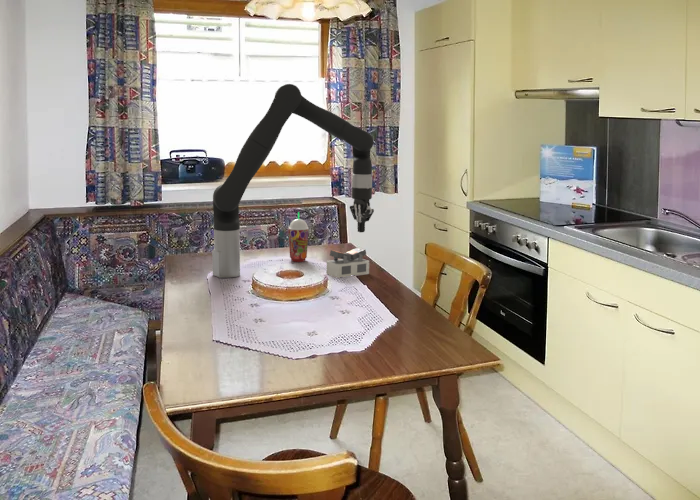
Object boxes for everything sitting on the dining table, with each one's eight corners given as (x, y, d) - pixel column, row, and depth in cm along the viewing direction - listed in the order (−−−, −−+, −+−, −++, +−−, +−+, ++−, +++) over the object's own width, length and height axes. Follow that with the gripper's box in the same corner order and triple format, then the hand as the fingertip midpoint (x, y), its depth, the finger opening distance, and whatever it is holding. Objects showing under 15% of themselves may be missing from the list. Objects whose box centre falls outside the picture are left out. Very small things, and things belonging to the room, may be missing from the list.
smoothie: (299, 263, 274) (299, 214, 270) (283, 260, 279) (283, 212, 275) (312, 260, 280) (313, 212, 277) (297, 257, 285) (297, 210, 281)
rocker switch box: (338, 278, 250) (338, 257, 249) (326, 273, 257) (326, 254, 255) (369, 274, 258) (369, 254, 257) (356, 269, 265) (357, 250, 263)
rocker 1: (337, 257, 250) (338, 252, 250) (329, 255, 255) (330, 249, 255) (350, 260, 254) (351, 254, 254) (342, 257, 258) (343, 252, 258)
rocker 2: (353, 260, 255) (352, 254, 254) (345, 257, 259) (344, 252, 258) (366, 254, 258) (365, 249, 257) (358, 252, 262) (357, 246, 261)
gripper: (343, 185, 258) (343, 230, 261) (364, 188, 247) (363, 235, 250) (359, 184, 262) (359, 228, 265) (380, 187, 251) (379, 233, 255)
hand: (361, 231), depth 258 cm, fingers closed
